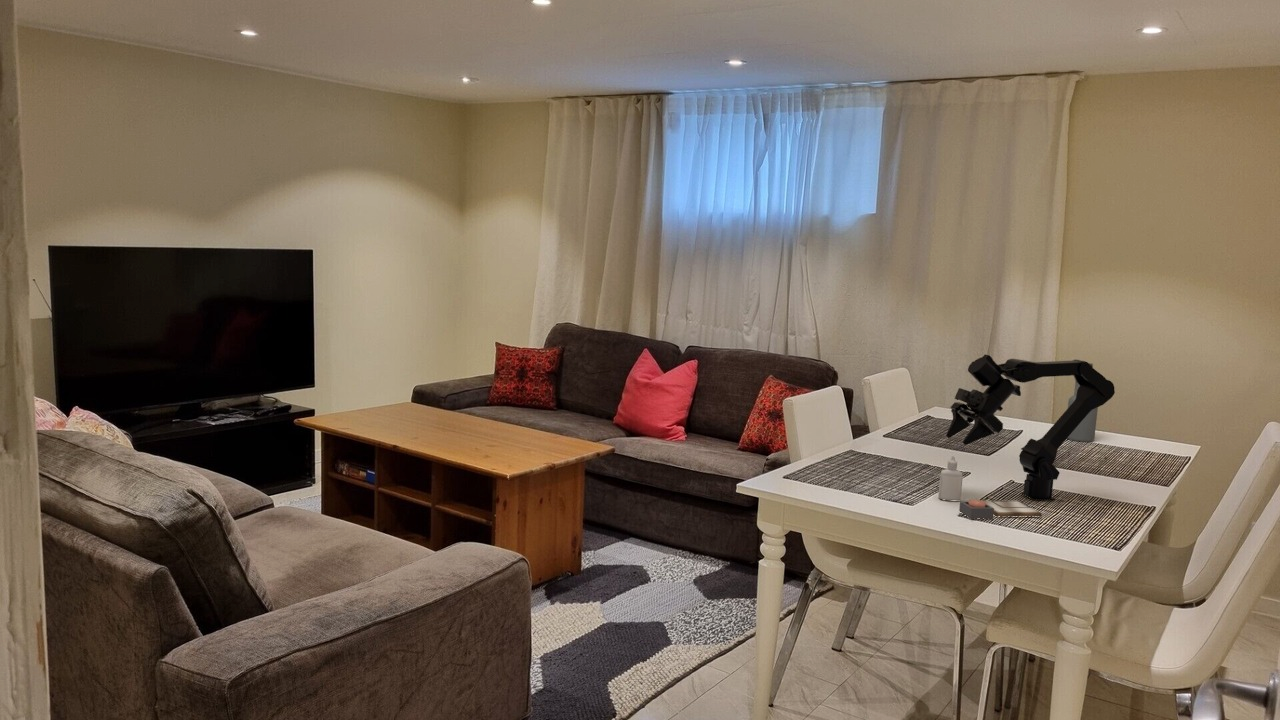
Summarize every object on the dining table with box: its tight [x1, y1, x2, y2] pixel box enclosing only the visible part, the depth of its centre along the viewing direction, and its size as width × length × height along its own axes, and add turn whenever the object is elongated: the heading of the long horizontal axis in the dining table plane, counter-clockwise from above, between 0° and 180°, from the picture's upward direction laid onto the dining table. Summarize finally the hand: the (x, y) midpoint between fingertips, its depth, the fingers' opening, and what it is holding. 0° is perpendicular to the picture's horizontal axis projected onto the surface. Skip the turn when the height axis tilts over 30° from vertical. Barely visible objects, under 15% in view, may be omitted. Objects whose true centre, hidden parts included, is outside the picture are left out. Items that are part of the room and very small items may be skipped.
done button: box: [968, 499, 985, 508], centre depth 233 cm, size 4×4×2 cm
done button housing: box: [958, 500, 994, 520], centre depth 233 cm, size 6×6×3 cm
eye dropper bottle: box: [938, 455, 964, 501], centre depth 247 cm, size 4×6×12 cm
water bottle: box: [1066, 362, 1099, 443], centre depth 333 cm, size 10×10×28 cm
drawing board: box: [983, 500, 1042, 517], centre depth 239 cm, size 12×11×2 cm
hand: (955, 440), depth 247 cm, fingers open, 9 cm apart
